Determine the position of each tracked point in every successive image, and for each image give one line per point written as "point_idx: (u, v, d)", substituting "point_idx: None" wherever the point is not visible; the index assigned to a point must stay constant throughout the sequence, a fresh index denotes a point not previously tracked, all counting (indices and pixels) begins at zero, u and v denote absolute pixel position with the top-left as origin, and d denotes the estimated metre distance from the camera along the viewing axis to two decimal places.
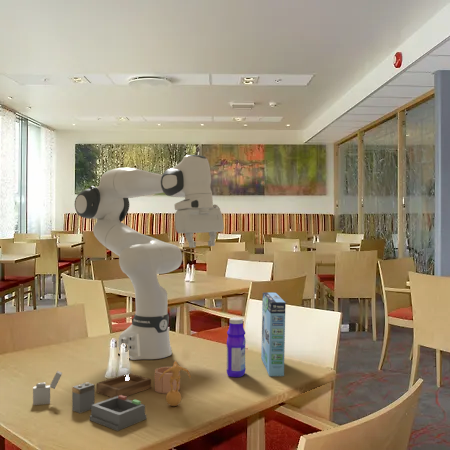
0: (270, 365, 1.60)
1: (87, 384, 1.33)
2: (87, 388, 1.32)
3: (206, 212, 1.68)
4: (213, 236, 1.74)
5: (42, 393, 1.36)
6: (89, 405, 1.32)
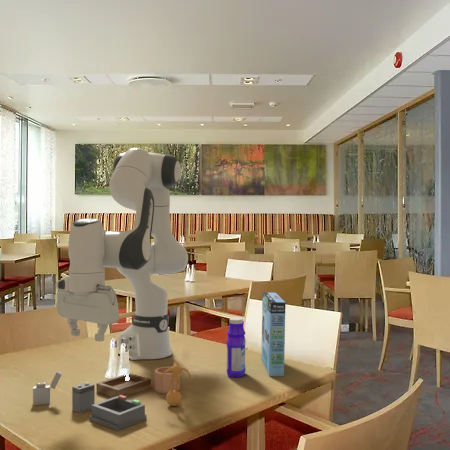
0: (270, 365, 1.60)
1: (87, 384, 1.33)
2: (87, 388, 1.32)
3: (76, 296, 1.30)
4: None
5: (42, 393, 1.36)
6: (89, 405, 1.32)
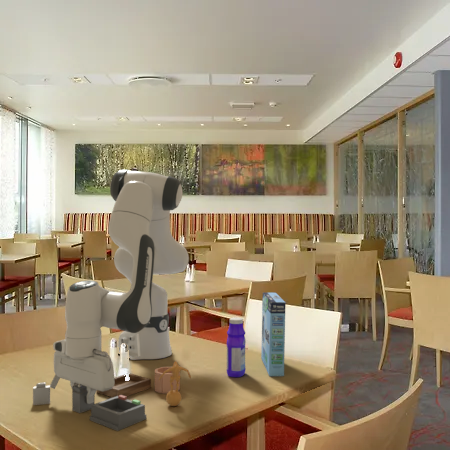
0: (270, 365, 1.60)
1: None
2: None
3: (72, 360, 1.30)
4: None
5: (42, 393, 1.36)
6: (89, 405, 1.32)
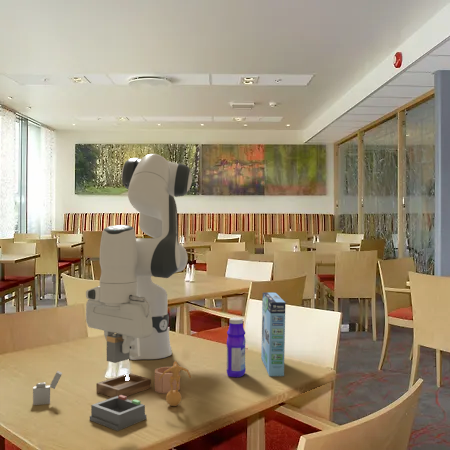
0: (270, 365, 1.60)
1: None
2: (122, 337, 1.25)
3: (107, 307, 1.23)
4: None
5: (42, 393, 1.36)
6: (124, 355, 1.25)
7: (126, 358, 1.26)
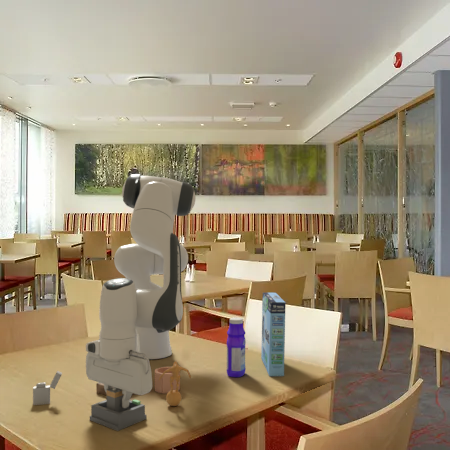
0: (270, 365, 1.60)
1: None
2: None
3: (107, 362, 1.24)
4: None
5: (42, 393, 1.36)
6: (124, 409, 1.26)
7: None
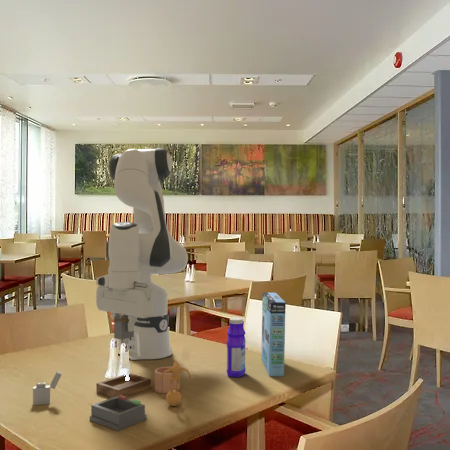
0: (270, 365, 1.60)
1: (127, 315, 1.47)
2: (127, 318, 1.46)
3: (115, 292, 1.44)
4: None
5: (42, 393, 1.36)
6: (129, 333, 1.46)
7: (131, 336, 1.47)
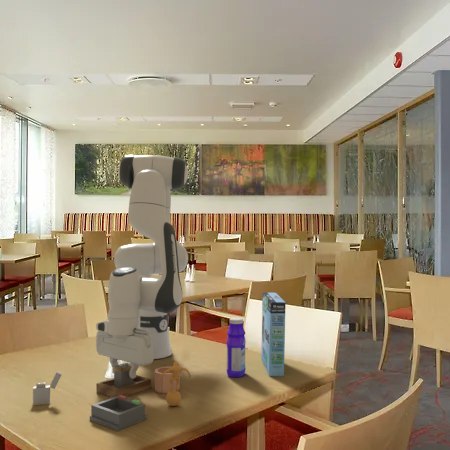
0: (270, 365, 1.60)
1: (127, 364, 1.47)
2: (127, 367, 1.46)
3: (114, 338, 1.45)
4: None
5: (42, 393, 1.36)
6: (129, 383, 1.47)
7: None
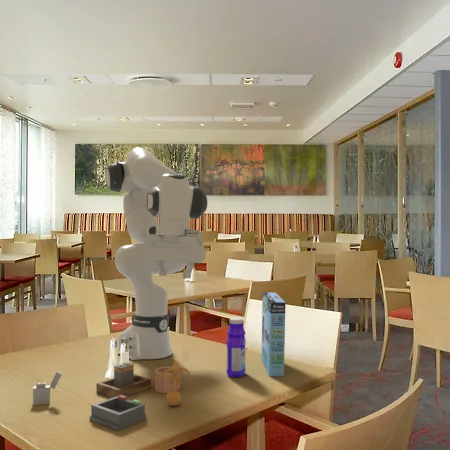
0: (270, 365, 1.60)
1: (127, 364, 1.47)
2: (127, 367, 1.46)
3: (166, 240, 1.50)
4: None
5: (42, 393, 1.36)
6: (129, 383, 1.47)
7: None
